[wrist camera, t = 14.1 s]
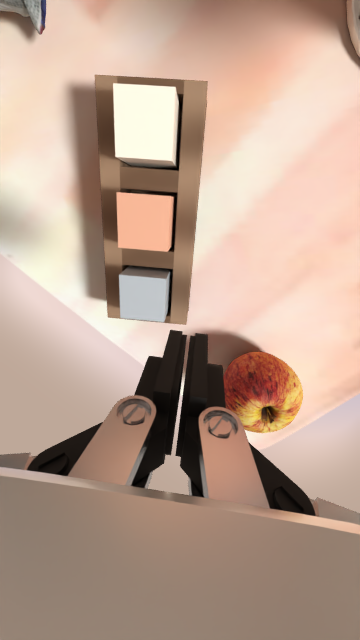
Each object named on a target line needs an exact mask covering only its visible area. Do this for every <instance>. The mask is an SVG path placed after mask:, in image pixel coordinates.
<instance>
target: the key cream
mask: <svg viewBox="0 0 360 640" xmlns="http://www.w3.org/2000/svg"><path fill="white" fill-rule="evenodd" d="M113 97H114V129H115V157H116V158H118V159H120V160H122V161H124V162H125V163H127V164H129V165H131V166H144V167H158V168H172V169H177V164H178V146H179V128H180V106H179V101H178V96H177V92H176V87H169V86H152V85H135V84H117V83H113Z"/></svg>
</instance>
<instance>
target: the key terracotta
mask: <svg viewBox="0 0 360 640" xmlns="http://www.w3.org/2000/svg"><path fill="white" fill-rule="evenodd" d="M116 193H117V225H118V248H128V249H140V250H152V251H164V252H168V251H169V249H170V248H171V246H172V245H173V236H174V218H175V200H176V198H175V197H171V196H161V195H148V194H134V193H121V192H116Z"/></svg>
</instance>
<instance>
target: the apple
mask: <svg viewBox="0 0 360 640" xmlns="http://www.w3.org/2000/svg"><path fill="white" fill-rule="evenodd" d="M223 379H224V391H225V404H226V409H228V410H230V411H232V412H233V413H235V414H236V415H237V416H238V417H239V418H240V420H241V422H242V424H243V427H244V429H245V430H248V431H252V432H256V433H268V432H274V431H277V430H280V429H282V428H284V427H286V426H287V425H289V424H290V423H291V422H292V421H293V419H294V418H295V416H296V415H297V413H298V411H299V409H300V407H301V404H302V399H303V390H302V386H301V383H300V380H299V378H298V377H297V375H296V374H295V372H294V371H293V370H292V369H291V368H290V367H289V366H288V365H287V364H286V363H285V362H283V361H282V360H280V359H279V358H277V357H275V356H273V355H271V354H268V353H264V352H249V353H246V354H243V355H242V356H240V357H238V358H236V359H235V360H233V361H232V362H231V363H230V365H229V366H228V368H227V370H226V372H225V374H224V376H223Z"/></svg>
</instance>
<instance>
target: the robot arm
mask: <svg viewBox="0 0 360 640" xmlns="http://www.w3.org/2000/svg"><path fill="white" fill-rule="evenodd" d="M346 4H347V24H348V28H349V33H350V37H351V41H352V43H353V46H354V48H355V50H356V52H357V55H358V56H359V57H360V19H359V18H360V0H347V3H346ZM186 337H187V335H182V331H175V330H170V333H169V337H168V340H167V344H166V348H165V351H164V355H163V358H161V357H154V356H149V357H148V359H147V362H146V365H145V367H144V370H143V373H142V376H141V378H140V381H139V384H138V386H137V389H136V392H135V395H134V396H128V397H125V398H123V399H121V400H119V401H118V402H117V403H116V404H115V405H114V407H113V408H112V410H111V411H110V413H109V414H108V416H107V417H106V419H105V420H104V422H102V423H100V424H98V425H95V426H93V427H91V428H89V429H87V430H85V431H83V432H81V433H79V434H77V435H75V436H73V437H71V438H69V439H67V440H65V441H63V442H61V443H59V444H57V445H55V446H52V447H50V448H48V449H47V450H45V451H43V452H42V453H40V454H39V455H38V456H31V453H20V454H4V455H0V640H360V513H357V512H354V511H352V510H349V509H347V508H344V507H341V506H339V505H336V504H334V503H331V502H328V501H326V500H323V499H320V498H318V497H317V498H316V499H315V500H312V499H310V498H308V496H307V495H306V494H305V493H304V492H303V491H302V490H301V489H300V488H299V487H298V486H297V485H296V484H295V483H294V482H293V481H292V480H290V479H289V478H288V477H287V476H286V475H285V474H284V473H283V472H281V471H280V470H279V469H278V468H277V467H276V466H275V465H274V464H272V463H271V462H270V461H269V460H268V459H267V458H266V457H264V456H263V455H262V454H261V453H260V452H259V451H258V450H257V449H256V448H254V447H253V446H252V445H251V444H250V443H249V442H248V439H247V436H246V433H245V430H244V427H243V424H242V422H241V420H240V418H239V417H238V416H237V415H236V414H235V413H233V412H232V411H230V410H228V409H226V404H225V391H224V379H223V367H222V365H214V364H207V362H208V335H206V334H199V333H196V334H195V336H190V344H189V352H188V360H187V368H186V375H185V383H184V391H183V400H182V407H181V415H180V423H179V432H178V440H177V448H176V456H180V457H181V464H180V466H181V468H182V469H183V470H184V472H185V473H186V474H187V475H188V477H189V481H188V487H189V495H183V494H177V493H170V492H164V491H158V490H152V489H148V486H149V483H150V480H151V477H152V472H153V470H155V469H156V468H158V467H159V466H160V465H162V464H164V460H165V454H166V455H171V451H172V444H173V437H174V429H175V423H176V416H177V409H178V402H179V396H180V389H181V381H182V372H183V363H184V355H185V346H186Z"/></svg>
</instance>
